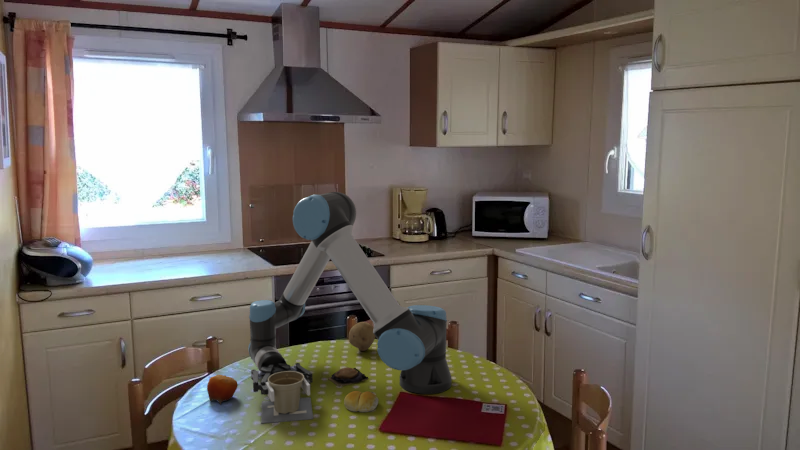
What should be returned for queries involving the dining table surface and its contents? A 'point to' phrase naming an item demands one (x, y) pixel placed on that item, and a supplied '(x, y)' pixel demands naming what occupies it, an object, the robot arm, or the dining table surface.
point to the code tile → (272, 416)
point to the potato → (362, 335)
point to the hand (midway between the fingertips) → (290, 393)
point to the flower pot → (286, 390)
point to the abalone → (347, 376)
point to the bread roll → (361, 401)
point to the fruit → (221, 388)
